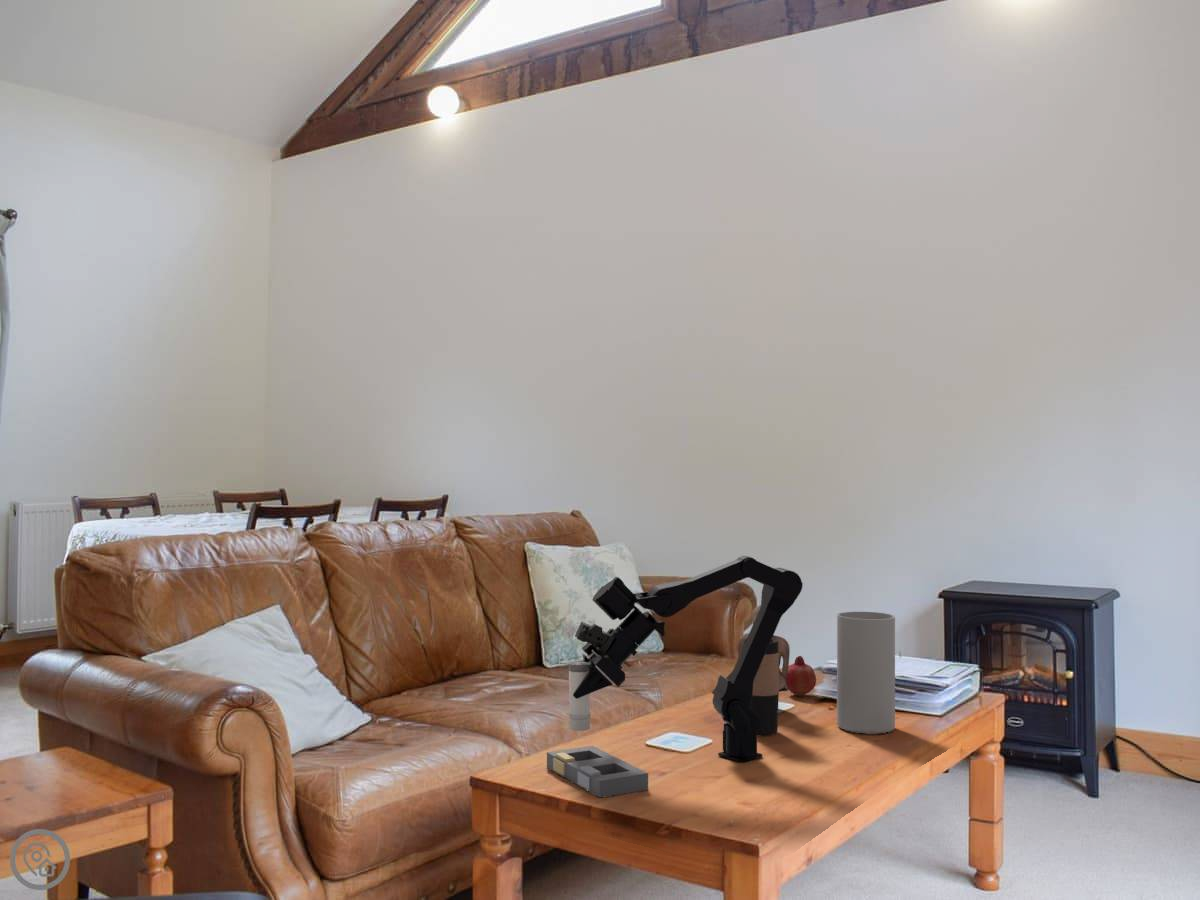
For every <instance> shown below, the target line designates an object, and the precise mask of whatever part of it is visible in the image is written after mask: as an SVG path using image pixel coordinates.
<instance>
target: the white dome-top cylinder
mask: <svg viewBox="0 0 1200 900" xmlns="http://www.w3.org/2000/svg"><path fill="white" fill-rule="evenodd" d="M588 672H589V663H587V662H583V661H574V662H570V663H568V691H569V692H568V695H569V696H568V699H569V702H568V705H569V707H568V708H569V709H568V717H569V719H568V720H569V730H571V731H577V732H580V731H581V732H583V731H588V730H590V729H591V710H590V709H591V702H590V701H591V698H590V697H591V695H590V694H591V693H590V694H587V695H585V696H582V697H580V698H578V699H576V698H575V697H574V696H573V694H574V692H575V691H576V689H577V688H578V686H579V685H580V683H581V682H582V681H583V679H584V678H585V676H586V675H587V673H588Z"/></svg>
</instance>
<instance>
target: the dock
mask: <svg viewBox="0 0 1200 900" xmlns="http://www.w3.org/2000/svg"><path fill="white" fill-rule="evenodd" d="M546 768H547V769H548V768H549V769H548V770H550V769H551V770H552V772H553V771H554V773H556V774H557V775H558V774H559V776H560V777H561V778H563V779H565V778H566V780H567V779H568V780H567V781H569V782H571V783H572V782H573V784H574V783H575V785H576V784H577V785H576V786H578V785H579V786H581V787H582V788H581V787H580V788H581V789H583V788H584V789H586V790H588V791H589V792H588V791H587V792H588V793H590V792H591V793H593V794H595V795H596V796H595V795H594V796H595V797H597V796H598V797H603V798H605V797H604V796H609V797H613V796H612V795H615V796H619V795H618V794H621V795H624V794H623V793H626V794H630V793H629V792H632V793H636V792H635V791H638V792H642V791H641V790H644V791H648V790H649V773H648V772H647V771H645V770H643V769H641V768H639V767H637V766H634V765H632V764H630V763H628V762H627V761H624V760H622V759H621V758H618V757H616V756H614V755H612V754H610V753H609V752H606V751H604V750H602V749H600V748H598V747H596V746H594V745H589V746H588V745H587V746H580V747H575V748H567V749H560V750H552V751H547V752H546ZM551 770H550V771H551ZM579 786H578V787H579ZM584 789H583V790H584ZM586 790H585V791H586ZM591 793H590V794H591ZM593 794H592V795H593ZM598 797H597V798H598Z"/></svg>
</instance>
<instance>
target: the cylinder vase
mask: <svg viewBox="0 0 1200 900" xmlns="http://www.w3.org/2000/svg"><path fill="white" fill-rule="evenodd" d="M836 619H837V620H836V660H837V661H836V724H837V726H838V727H839V728H840V729H842V730H843V729H844V730H843V731H846V732H849V731H850V733H853V732H856V733H855V734H859V733H869V734H868V735H880V734H879V733H884V734H887V733H886V732H888V733H891V732H893V731H894V730H895V727H896V615H895V614H890V613H886V612H885V613H884V612H877V611H876V612H875V611H845V612H843V611H842V612H839V613H837V615H836ZM876 733H878V734H876Z"/></svg>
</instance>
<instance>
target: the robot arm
mask: <svg viewBox="0 0 1200 900" xmlns="http://www.w3.org/2000/svg"><path fill="white" fill-rule="evenodd" d="M747 578H748V579H751V580H753V581H755V582H756V583H760V584H762V589H761V600H760V605H761V607H760V610H759V612H758V615H757V617H756V619H755V621H754V624H753V623H752V626H751V629H750V631H749V632H748V633H749V635H748V637H747V640H746V642H745V644H744V647H743V649H742V651H741V654H740V656H739V655H738V659H737V661H736V663H735V665H734V668H733V670H732V671H731V673H729V674H728V675H727V676H726V677H724V676H723V675H722V674H720V675H719V676H718V679H717V682H716V686H715V688H714V689H713V690H712V691H711V694H712V695H713V697H712V705H713V708H714V709H715V710H716V712H717V714H720V716H721V717H722V720H723V722H724V723H723V730H722V751H721V752H718V753H717V756H719V757H723V758H725V759H729V760H733V761H736V762H738V763H743V762H746V761H751V760H755V759H759V758H760V759H761V758H763V754H762V753H759V752H758V736H757V730H758V728H759V725H760V722H761V720H760V719H759V718H758V717H757V716H756V715H755V714H754V713H753V712H752V711H751V710H750V705H751V701H752V696H753V682H754V679H755V676H756V674H757V672H758V669H759V667H760V665H761V662H762V660H763V658H764V656H765V653H766V651H767V649H768V646H769V644H770V642H771V639H772V637H773V635H775V632H776V630H777V627H778V625H779V623H780V621H781V618H782V616H783V615H784V614H785V613H786V612H787V611H788V610H789V609H790V608H791V607H792V606H793V605H794V603H795V602H796V600H797V599H798V598H799V596H800V594H801V592H802V590H803V581H802V579H801V577H800V575H799V574H798V573H797V572H795V571H792V570H790V569H785V568H784V567H783V568H782V567H772V566H769V565H767V564H764V563H763V562H760V561H758V560H757V559H755V558H754V557H751V556H748V555H742V556H739V557H737V558H736V559H734V560H732V561H729V562H727V563H725V564H721V565H719V566H716V567H715V568H712V569H710V570H707V571H704V572H702V573H700V574H697V575H695V576H693V577H690V578H688V579H683V580H678V581H677V580H676V581H670V582H664V583H660V584H656V585H653V586H652V587H650V588H648V590H647V591H642V592H637V593H636V592H635V593H634V592H633V591H631V590H630V588H628V587H627V585H625V583H624V581H623V580H622V579H621V578H620V577H618V576H615V577H614V578H613V579H612V580H610V581H609V582H607V583H605V585H602V586H601V587H600V588H599V589H598V590H597V592H595V594H594V595H593V597H592V599H591V600H592V602H594V604H595V605H596V606H598V608H599V609H601V610H602V612H604V613H605V615H607V616H608V617H609V618H610V619H611V620H612V621H615V620H617V619H618V620H619V621H622V620H623V621H622V622H620V624H619V625H618V626H617V627H616V628H615V629H614V628H610V629H608V630H607V631H603V627H602V626H599V625H597V624H595V623H593V624H592V625H590V624H588V623H586V622H584V621H581V622H580V624H579V626H578V628H577V630H576V632H575V635H574V637H575V638H576V639H577V640H579V641H581V642H582V643H585V644H584V645H583V646H582V647H581V650H582V651H583V652H584V653H585V654H584V653H582V662H587V663H589V672H588V673H587V675H586V676H585V678H584V679H583V681H582V682H581V683H580V685H579V686H578V688H577V689H576V691H575V692H574V694H573V696H574V697H575V698H576V699H578V698H580V697H582V696H585V695H587V694H592V693H595V692H596V691H597V692H598V691H599V690H602V689H605V688H607V687H609V686H611V687H612V686H613V685H616V686H617V688H619V687H620V686H621V685H622V684H623V683H624V682H625V681H626V673H625V672H624V670H623V668H624V667H623V666H622V665H624V663H625V662H626V661H627V660H628V659H629V658H630V657H631V656H633V657H634V656H635V655H637V653H638V651H637V649H638V648H639V647H640V646H641V645H642V644H643V643H644V642H645V641H646V640H647V639H648V638H649V636H651V635H652V634H653V632H654V631H655V632H656V633H657V634H659V635H660V636H661V637H664V636H665V633H666V632H665V624H666V622H665V621H663V620H658V619H656V618H655V616H653V615H652V614H651V613H650V612H649V611H644V612H642V611H641V610H640V609H639V608H638V607H637V606H636V605H639V606H640V607H641V608H643V609H645V610H650V611H651V612H652V613H653V614H656V616H660V617H661V618H670V617H672V616H674V615H676V614H677V613H678V612H680V611H682V610H684V609H685V608H686V607H688V606H689V605H690V604H691V603H692V602H693V601H695V600H697V599H699V598H701V597H704V596H705V595H708V594H711V593H713V592H716V591H718V590H720V589H721V590H722V589H723V588H725V587H727V586H730V585H732V584H735V583H738V582H740V581H742V580H744V579H747ZM635 604H636V605H635ZM586 654H587V655H586ZM611 681H612V682H613V683H612V682H611Z"/></svg>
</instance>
